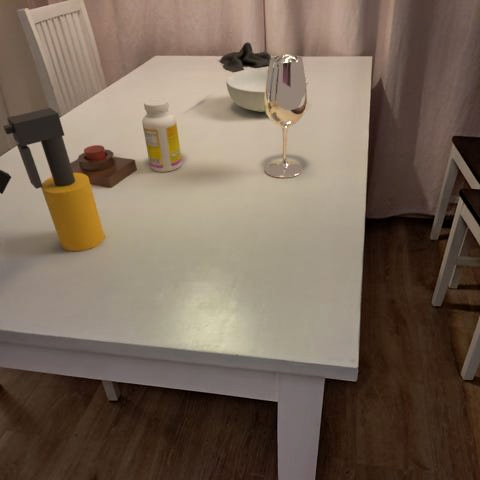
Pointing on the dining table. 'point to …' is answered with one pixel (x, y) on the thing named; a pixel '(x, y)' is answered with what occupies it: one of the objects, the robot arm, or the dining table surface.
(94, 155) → the button
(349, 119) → the dining table surface
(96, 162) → the button block
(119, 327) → the dining table surface
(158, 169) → the supplement bottle
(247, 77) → the serving bowl
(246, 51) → the cloth
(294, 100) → the wineglass
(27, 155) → the trigger
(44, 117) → the spray bottle
